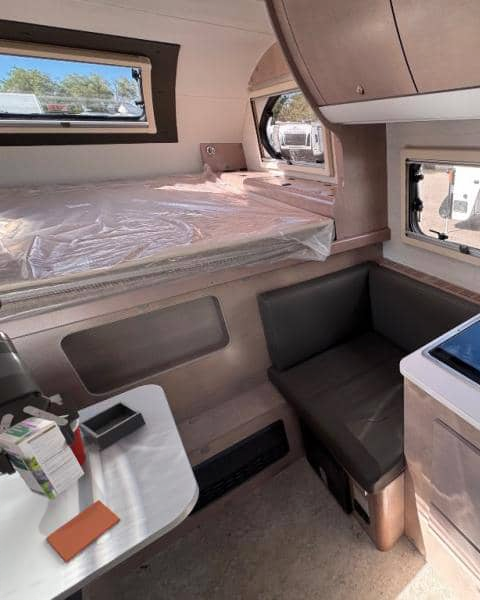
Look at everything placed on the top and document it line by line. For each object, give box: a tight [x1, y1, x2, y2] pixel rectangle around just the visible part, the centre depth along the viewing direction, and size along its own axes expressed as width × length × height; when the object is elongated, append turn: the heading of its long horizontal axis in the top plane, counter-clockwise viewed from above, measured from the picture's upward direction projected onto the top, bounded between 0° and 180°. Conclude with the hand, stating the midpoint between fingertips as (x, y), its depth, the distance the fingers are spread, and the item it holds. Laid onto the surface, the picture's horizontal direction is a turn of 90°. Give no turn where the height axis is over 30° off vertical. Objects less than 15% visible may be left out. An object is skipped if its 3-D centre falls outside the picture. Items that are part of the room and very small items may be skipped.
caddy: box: [79, 400, 146, 451], centre depth 91 cm, size 10×10×4 cm
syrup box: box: [0, 416, 85, 500], centre depth 61 cm, size 6×6×14 cm
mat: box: [45, 499, 121, 563], centre depth 68 cm, size 9×9×1 cm
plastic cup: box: [58, 414, 87, 467], centre depth 79 cm, size 11×11×12 cm
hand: (43, 458), depth 60 cm, fingers closed on syrup box, 7 cm apart
